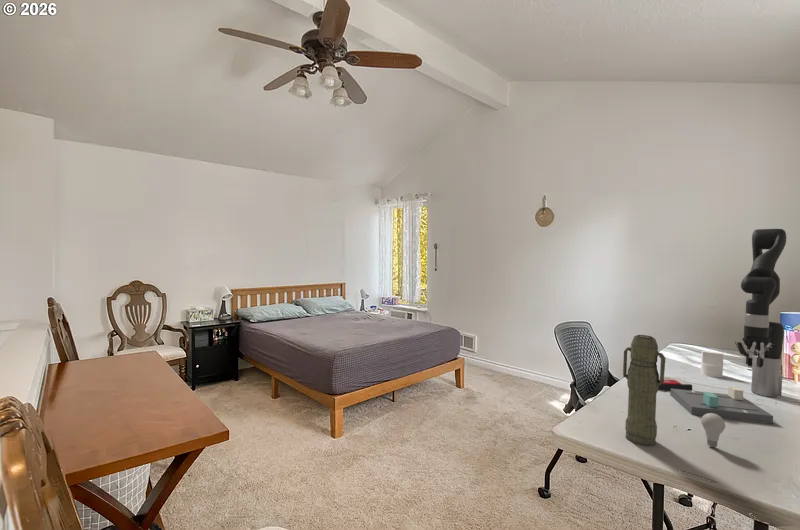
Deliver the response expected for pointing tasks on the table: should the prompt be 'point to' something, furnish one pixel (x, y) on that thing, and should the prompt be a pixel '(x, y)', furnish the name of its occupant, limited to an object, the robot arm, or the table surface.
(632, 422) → the thermos
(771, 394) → the robot arm
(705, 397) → the fader teal
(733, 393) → the block
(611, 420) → the table surface
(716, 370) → the white cylinder
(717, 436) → the lightbulb
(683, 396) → the console
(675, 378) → the calculator
